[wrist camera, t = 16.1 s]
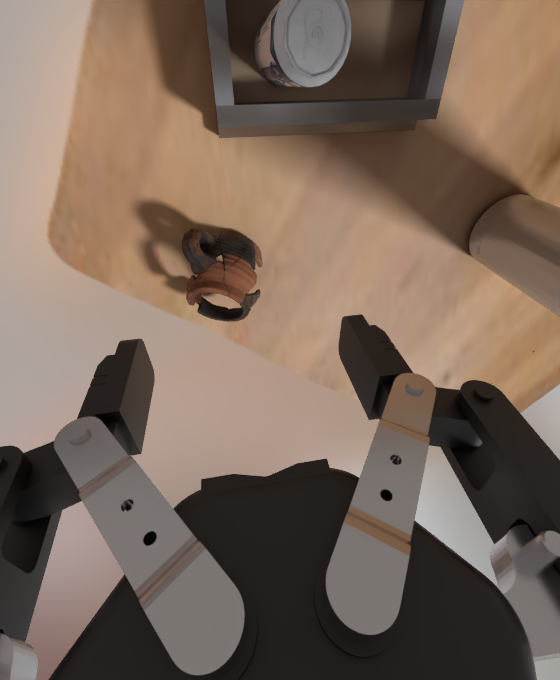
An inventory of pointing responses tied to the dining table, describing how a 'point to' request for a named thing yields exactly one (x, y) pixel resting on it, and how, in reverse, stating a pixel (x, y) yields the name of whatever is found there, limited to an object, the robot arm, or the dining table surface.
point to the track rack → (350, 81)
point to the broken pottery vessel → (221, 272)
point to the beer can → (303, 42)
